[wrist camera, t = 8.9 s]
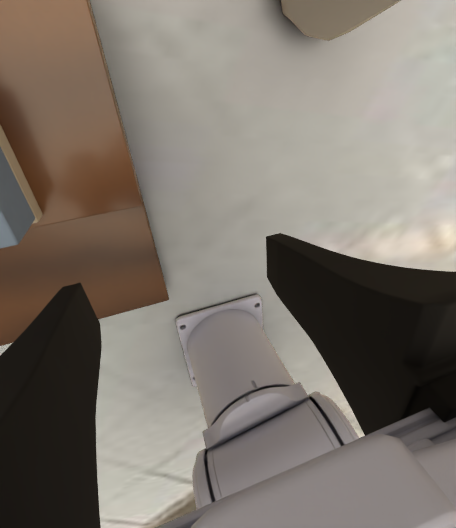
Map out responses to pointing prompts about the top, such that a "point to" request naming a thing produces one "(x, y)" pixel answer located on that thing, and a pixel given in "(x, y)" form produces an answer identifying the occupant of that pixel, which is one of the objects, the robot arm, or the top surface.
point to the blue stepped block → (14, 198)
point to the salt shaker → (332, 15)
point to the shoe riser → (69, 170)
